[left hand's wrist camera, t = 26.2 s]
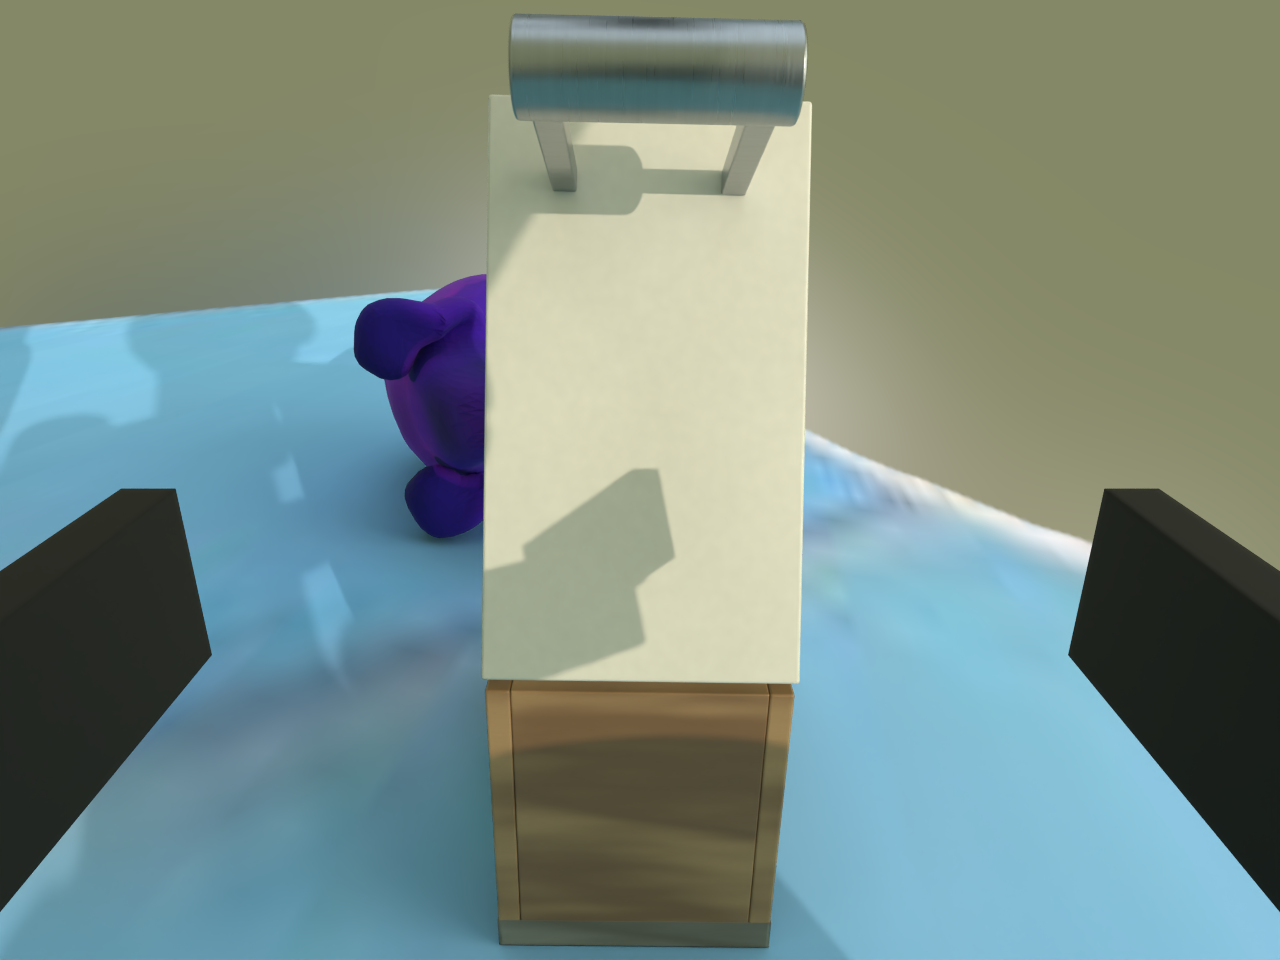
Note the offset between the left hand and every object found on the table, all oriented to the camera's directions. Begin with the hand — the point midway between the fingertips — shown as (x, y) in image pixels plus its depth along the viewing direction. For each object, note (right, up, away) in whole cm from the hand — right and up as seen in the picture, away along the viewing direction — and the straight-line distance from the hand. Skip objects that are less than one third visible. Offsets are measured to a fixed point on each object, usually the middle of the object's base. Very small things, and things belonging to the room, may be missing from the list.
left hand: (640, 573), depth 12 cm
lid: (0, +4, +13) cm, 14 cm away
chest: (0, -11, +25) cm, 27 cm away
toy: (-10, 0, +51) cm, 52 cm away
